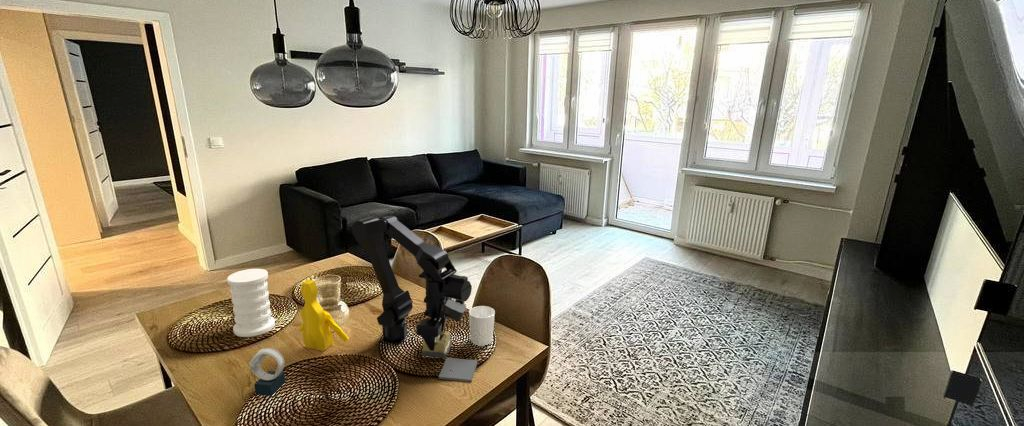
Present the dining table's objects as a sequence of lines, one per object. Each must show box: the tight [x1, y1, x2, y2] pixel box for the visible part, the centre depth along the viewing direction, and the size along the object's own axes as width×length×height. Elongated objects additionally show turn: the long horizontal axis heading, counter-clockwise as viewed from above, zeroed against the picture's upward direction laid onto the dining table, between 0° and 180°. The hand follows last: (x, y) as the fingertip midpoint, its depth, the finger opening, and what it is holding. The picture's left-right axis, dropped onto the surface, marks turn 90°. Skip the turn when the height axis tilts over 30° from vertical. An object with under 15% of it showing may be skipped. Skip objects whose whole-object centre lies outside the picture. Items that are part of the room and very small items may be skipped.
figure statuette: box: [298, 278, 350, 352], centre depth 127 cm, size 18×8×22 cm, turn 73°
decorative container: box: [226, 268, 276, 338], centre depth 137 cm, size 12×12×18 cm
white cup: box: [468, 305, 496, 347], centre depth 135 cm, size 8×8×10 cm
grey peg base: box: [421, 334, 452, 359], centre depth 129 cm, size 7×7×6 cm
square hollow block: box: [422, 330, 451, 352], centre depth 129 cm, size 6×6×3 cm
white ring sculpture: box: [248, 347, 286, 397], centre depth 110 cm, size 6×8×11 cm
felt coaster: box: [438, 357, 479, 383], centre depth 121 cm, size 9×9×1 cm
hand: (436, 341), depth 129 cm, fingers open, 9 cm apart
